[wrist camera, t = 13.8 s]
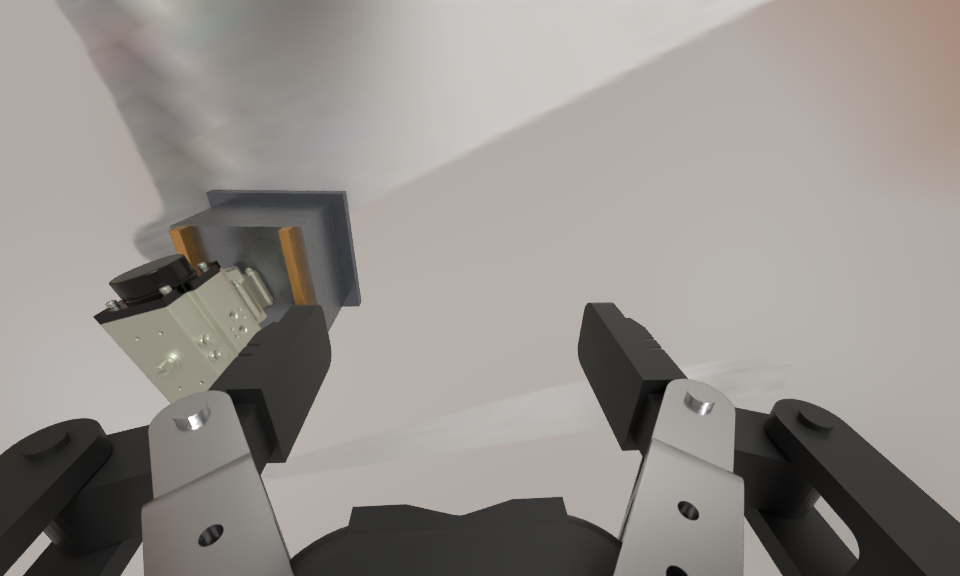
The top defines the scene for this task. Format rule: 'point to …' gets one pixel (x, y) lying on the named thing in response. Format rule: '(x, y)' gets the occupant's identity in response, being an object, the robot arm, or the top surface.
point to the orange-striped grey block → (279, 245)
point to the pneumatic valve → (184, 320)
